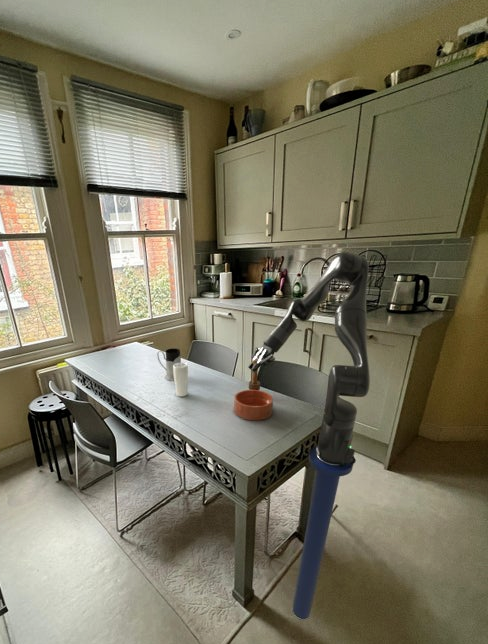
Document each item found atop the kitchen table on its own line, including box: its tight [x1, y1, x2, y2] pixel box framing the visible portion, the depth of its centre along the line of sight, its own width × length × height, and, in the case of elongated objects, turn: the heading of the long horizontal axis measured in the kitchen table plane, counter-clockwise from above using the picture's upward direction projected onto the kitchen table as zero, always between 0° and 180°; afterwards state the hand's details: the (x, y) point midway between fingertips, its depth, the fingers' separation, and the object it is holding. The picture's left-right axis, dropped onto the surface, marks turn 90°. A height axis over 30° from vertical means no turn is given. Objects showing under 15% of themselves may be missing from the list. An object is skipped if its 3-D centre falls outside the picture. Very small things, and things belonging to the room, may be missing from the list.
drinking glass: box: [173, 362, 189, 397], centre depth 147 cm, size 7×7×15 cm
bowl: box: [233, 389, 274, 421], centre depth 132 cm, size 16×16×6 cm
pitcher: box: [156, 347, 182, 382], centre depth 167 cm, size 9×14×15 cm, turn 60°
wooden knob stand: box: [248, 359, 261, 391], centre depth 143 cm, size 5×5×14 cm
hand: (251, 369), depth 141 cm, fingers closed on wooden knob stand
